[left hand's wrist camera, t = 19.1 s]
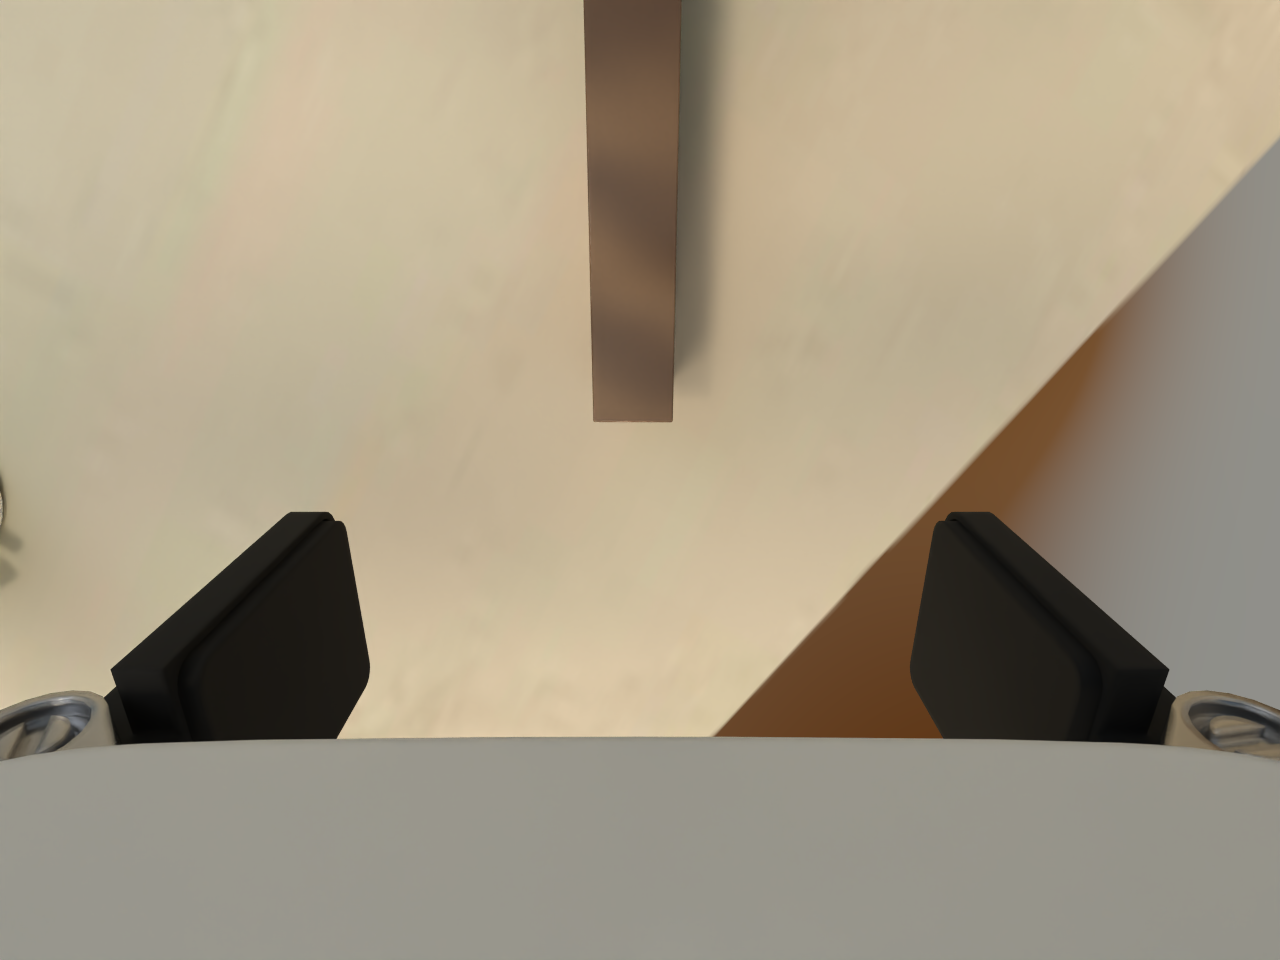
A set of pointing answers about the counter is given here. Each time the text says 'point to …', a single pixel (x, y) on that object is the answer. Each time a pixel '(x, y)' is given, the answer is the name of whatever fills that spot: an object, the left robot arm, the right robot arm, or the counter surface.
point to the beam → (632, 203)
